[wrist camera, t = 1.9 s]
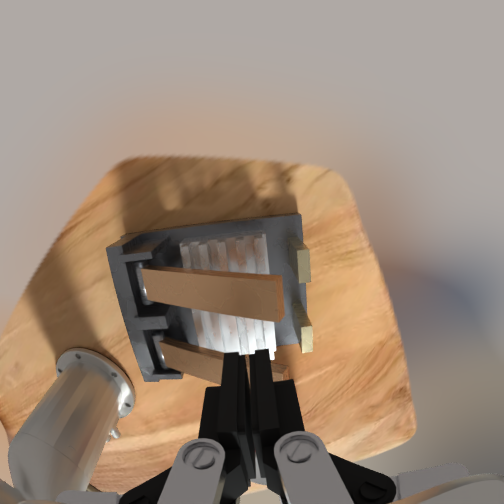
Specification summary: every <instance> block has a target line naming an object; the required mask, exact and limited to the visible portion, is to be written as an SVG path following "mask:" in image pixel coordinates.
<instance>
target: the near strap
mask: <svg viewBox="0 0 504 504" xmlns="http://www.w3.org/2000/svg"><path fill="white" fill-rule="evenodd" d="M133 263H134V267H135V272H136V277H137V281H138V285H139V290H140V294H141V298H142V302H143V304H144V305H150V304H153V303H155V302H160V303H165V304H170V305H175V306H180V307H186V308H191V309H196V310H202V311H207V312H213V313H219V314H225V315H231V316H237V317H244V318H250V319H257V320H263V321H271V322H278V323H279V322H280V321H281V320H282V318H283V317H284V316H285V310H284V296H283V283H282V275H270V274H255V273H241V272H227V271H214V270H202V269H189V268H177V267H166V266H154V265H148V263H147V259H146V260H138V261H134V262H133Z"/></svg>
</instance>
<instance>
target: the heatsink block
mask: <svg viewBox="0 0 504 504" xmlns="http://www.w3.org/2000/svg"><path fill="white" fill-rule="evenodd" d="M106 252H107V256H108V261H109V265H110V270H111V274H112V278H113V282H114V286H115V290H116V294H117V298H118V301H119V305H120V309H121V312H122V316H123V319H124V322H125V326H126V329H127V332H128V335H129V339H130V342H131V345H132V348H133V351H134V354H135V357H136V359H137V362H138V365H139V368H140V371H141V373H142V376H143V379H144V381H145V382H159V380H160V379H182V378H183V374H184V372H181V371H178V370H175V369H172V368H171V369H168V370H164V369H162V368H161V365H160V362H159V359H158V355H157V352H156V349H155V345H154V342H153V339H152V335H151V334H152V333H153V332H154V331H158V330H161V331H163V332H164V335H165V337H169V338H172V339H175V340H179V341H182V342H186V343H190V344H193V345H197V346H201V347H204V348H208V349H212V350H216V351H220V352H224V353H227V352H239V354H240V355H243V354H255V350H259V349H268V348H269V353H270V360H274V351H276V346H281V345H289V344H296V343H299V345H300V348H301V351H302V353H306V352H313V336H312V324H311V322H310V320H309V318H308V315H307V302H306V282H311V274H310V254H309V248H308V247H307V246H306V245H305V244H304V243H303V232H302V218H301V214H300V213H290V214H280V215H270V216H261V217H252V218H243V219H234V220H226V221H217V222H209V223H201V224H193V225H186V226H178V227H171V228H163V229H156V230H149V231H142V232H135V233H129V234H125V235H123V236H121V239H120V240H118V241H117V242H115V243H113V244H111V245H110V246H108V247H106ZM146 259H147V263H148V265H154V266H166V267H177V268H189V269H202V270H214V271H227V272H241V273H255V274H270V275H282V283H283V296H284V310H285V316H284V317H283V318H282V320H281V321H280V322H279V323H278V322H271V321H263V320H257V319H250V318H244V317H237V316H231V315H225V314H219V313H213V312H207V311H202V310H196V309H191V308H186V307H180V306H175V305H170V304H165V303H160V302H155V303H153V304H150V305H144V304H143V302H142V298H141V294H140V290H139V285H138V281H137V277H136V272H135V267H134V263H133V262H134V261H138V260H146Z"/></svg>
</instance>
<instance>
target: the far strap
mask: <svg viewBox="0 0 504 504" xmlns="http://www.w3.org/2000/svg"><path fill="white" fill-rule="evenodd" d="M151 335H152V339H153V342H154V345H155V349H156V352H157V355H158V359H159V362H160V365H161V368H162V369H164V370H168V369H171V368H172V369H175V370H178V371H181V372H184V373H186V374H189V375H192V376H195V377H198V378H201V379H204V380H207V381H210V382H213V383H217V384H220V385H221V379H222V368H223V359H224V352H220V351H216V350H212V349H208V348H204V347H201V346H197V345H193V344H190V343H186V342H182V341H179V340H175V339H172V338H169V337H165V335H164V332H163V331H161V330H158V331H154V332H153V333H152V334H151ZM245 359H246V365H247V372H248V378H249V385H250V366H249V358H246V357H245ZM271 368H272V375H273V382H274V381H283V380H289V372H288V366H285V365H280V364H275V363H271Z"/></svg>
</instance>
